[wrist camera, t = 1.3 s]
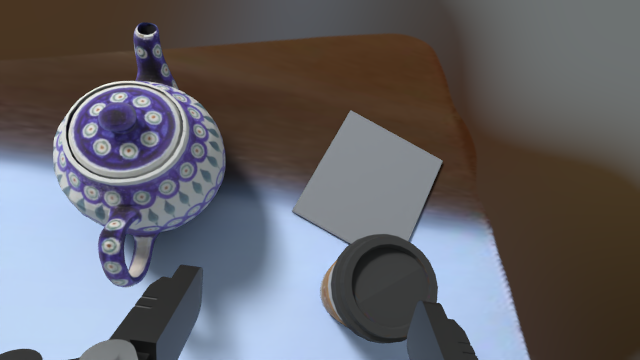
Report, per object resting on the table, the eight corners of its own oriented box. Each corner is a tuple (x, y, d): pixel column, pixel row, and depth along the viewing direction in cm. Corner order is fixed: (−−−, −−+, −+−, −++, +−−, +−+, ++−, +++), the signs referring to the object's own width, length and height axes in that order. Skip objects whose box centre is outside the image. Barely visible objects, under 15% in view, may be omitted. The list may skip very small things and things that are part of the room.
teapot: (218, 291, 38) (193, 284, 24) (64, 288, 36) (-60, 279, 22) (239, 91, 47) (229, 0, 33) (114, 79, 45) (47, -23, 31)
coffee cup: (297, 275, 40) (316, 259, 26) (360, 242, 43) (407, 211, 29) (332, 346, 38) (372, 370, 24) (395, 308, 41) (465, 310, 27)
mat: (395, 269, 42) (396, 269, 42) (291, 211, 43) (292, 210, 42) (441, 161, 48) (442, 160, 47) (350, 111, 48) (350, 110, 48)
